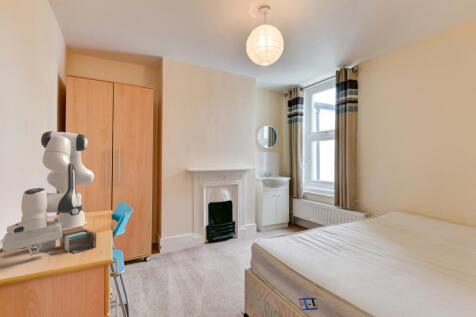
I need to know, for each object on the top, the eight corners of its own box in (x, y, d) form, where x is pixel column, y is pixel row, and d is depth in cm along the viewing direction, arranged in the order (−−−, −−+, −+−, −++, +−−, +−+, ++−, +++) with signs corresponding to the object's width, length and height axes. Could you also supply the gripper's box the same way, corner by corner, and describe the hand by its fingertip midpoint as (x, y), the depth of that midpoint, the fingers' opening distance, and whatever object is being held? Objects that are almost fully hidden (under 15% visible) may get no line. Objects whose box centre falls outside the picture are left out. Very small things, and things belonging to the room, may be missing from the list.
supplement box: (35, 247, 115) (36, 223, 116) (54, 243, 121) (54, 220, 121) (37, 251, 110) (37, 226, 110) (56, 247, 116) (56, 223, 116)
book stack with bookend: (59, 246, 117) (59, 229, 117) (81, 240, 125) (81, 224, 125) (73, 254, 107) (73, 235, 107) (96, 247, 115) (96, 230, 115)
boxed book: (64, 249, 113) (64, 236, 113) (84, 244, 120) (84, 231, 120) (67, 251, 110) (68, 237, 110) (88, 245, 118) (88, 232, 118)
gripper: (59, 218, 112) (59, 245, 112) (1, 228, 95) (1, 260, 95) (64, 220, 108) (64, 248, 108) (4, 231, 91) (4, 264, 91)
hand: (34, 254), depth 101 cm, fingers closed
